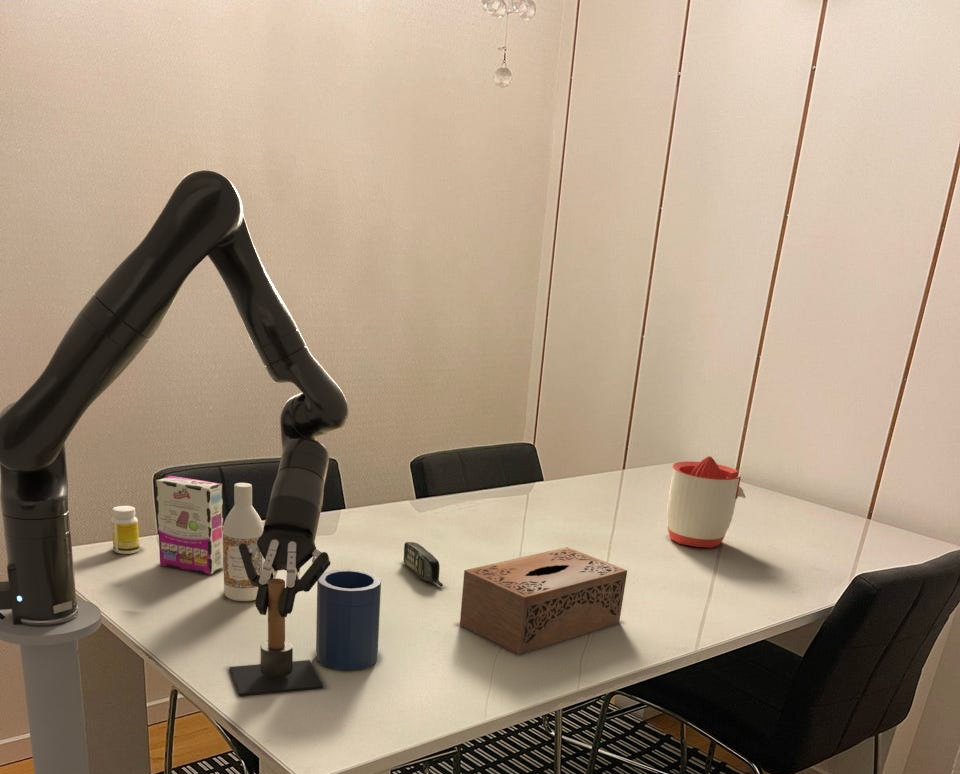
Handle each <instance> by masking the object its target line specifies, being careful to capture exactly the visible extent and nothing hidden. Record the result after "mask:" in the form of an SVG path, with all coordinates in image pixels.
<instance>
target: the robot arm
mask: <svg viewBox="0 0 960 774" xmlns="http://www.w3.org/2000/svg"><path fill="white" fill-rule="evenodd" d="M135 247H136V246H135ZM205 258H209V260H210V261H211V262H212V264H213V265H214V267H215V269H216V271H217V273H218V274H219V275H220V277H221V279H222V281H223V282H224V285H225V287H226V289H227V290H228V292H229V294H230V296H231V298H232V300H233V304H234V306H235V308H236V310H237V312H238V314H239V317H240V319H241V322H242V324H243V326H244V328H245V331H246V333H247V334H248V337H249V340H250V341H251V343H252V345H253V347H254V349H255V350H256V353H257V355H258V357H259V358H260V360H261V362H262V364H263V366H264V368H265V369H266V371H267V373H268V374H269V376H270V378H271V379H272V380H273V381H274V382H276V383H279V384H280V383H291V384H294V386H296V387H297V389H298V390H299V391H300V393H298V394H295V395H293V396H291V397H290V398H289V399H287V401H286V402H285V404H284V405H283V406H282V409H281V411H280V416H279V417H280V418H279V420H280V421H279V422H280V423H279V424H280V425H279V427H280V440H281V441H280V442H281V449H282V451H281V452H282V453H281V457H280V461H279V464H278V465H279V466H278V470H277V474H276V478H275V480H274V483H273V485H272V488H271V493H270V499H269V502H268V506H267V510H266V515H265V520H264V523H263V527H264V529H263V533H262V535H261V536H260V537H259V538H258V540H257V543H254V544H251V545H248V546H247V545H246V544H244V543H242V544H240V545H239V551H240V554H241V557H242V560H243V564H244V567H245V570H246V573H247V577H248V579H249V581H250V582H251V584H252V585H253V586H257V587H258V592H257V597H256V600H254V605H255V608H256V610H257V611H258V613H259V615H261V616H266V615H267V614H268V580H270V579H275V578H277V575H278V572H279V571H285V572H286V580H285V588H284V589H283V594H282V599H281V604H280V608H279V613H280V615H281V617H285V618H287V617H288V615H291V613H293V609H294V606H295V605H294V604H295V599H296V595H297V594H298V593H300V592H305V593H308V592H310V591H311V589H312V588H313V587H314V586H315V584H316V583H317V581H318V579H319V578H320V577H321V576H322V574H323V573H325V572H326V571H327V569H328V568H329V567H330V566H331V558H330V556H329V554H328V552H326V551H322V552H321V551H320V550H318V549H317V546H316V542H315V541H316V538H317V532H318V527H319V521H320V516H321V513H322V510H323V502H324V493H325V492H324V490H325V485H326V479H327V474H328V469H329V463H330V462H329V461H330V455H329V451H328V449H327V448H326V446H325V445H324V444H323V443H321V442H319V441H318V440H317V438H319V437H322V436H324V435H327V434H330V433H333V432H336V431H338V430H340V429H342V428H343V427H344V426H345V425H346V424H347V423H348V419H349V405H348V401H347V398H346V396H345V393H344V392H343V390H342V389H341V388H340V387H339V385H338V384H337V383H336V382H335V380H334V379H333V378H332V377H331V376H330V374H328V372H327V371H326V370H325V369H324V367H323V366H322V365H321V364H320V363H319V361H318V360H317V359H316V358H315V357H314V356H313V355H312V353H311V352H310V350H309V347H308V346H307V343H306V342H305V339H304V338H303V336H302V333H301V332H300V330H299V328H298V325H297V324H296V321H295V320H294V319H293V316H292V314H291V313H290V311H289V309H288V307H287V305H286V304H285V302H284V301H283V299H282V297H281V295H280V294H279V292H278V290H277V289H276V287H275V285H274V284H273V282H272V281H271V278H270V276H269V275H268V273H267V271H266V269H265V267H264V265H263V263H262V261H261V259H260V257H259V255H258V252H257V250H256V247H255V244H254V243H253V239H252V236H251V233H250V230H249V228H248V225H247V221H246V219H245V215H244V206H243V201H242V199H241V196H240V194H239V192H238V189H236V187H235V185H234V184H233V183H232V181H231V180H230V179H229V178H228V177H226V176H225V175H223V174H222V173H220V172H218V171H215V170H210V169H200V170H195V171H192V172H189V173H188V174H187V175H185V176H184V177H183V178H182V179H181V180H180V181H179V182H178V183H177V185H176V187H175V188H174V189H173V192H172V193H171V195H170V197H169V199H168V201H167V202H166V204H165V206H164V207H163V209H162V211H161V212H160V214H159V216H158V217H157V218H156V220H155V222H154V223H153V225H152V226H151V228H150V229H149V231H148V232H147V234H146V235H145V237H144V238H143V239H142V240H141V242H140V243H139V244H138V245H137V247H136V248H134V249H133V250H132V251H131V252H130V253H129V254H128V256H126V258H125V259H124V260H123V261H121V263H120V264H119V265H118V266H117V267H116V268H114V270H113V271H112V272H111V274H110V275H108V277H107V278H106V279H105V281H104V282H103V283H102V284H101V285H100V286H99V287H98V288H97V290H96V291H95V292H94V293H93V295H92V296H91V297H90V299H89V300H88V301H87V302H86V303H85V305H84V306H83V307H82V309H81V310H80V312H79V313H78V314H77V315H76V317H75V318H74V320H73V321H72V323H71V324H70V326H69V327H68V329H67V330H66V332H65V334H64V335H63V336H62V338H61V340H60V342H59V344H58V345H57V347H56V349H55V351H54V353H53V355H52V357H51V358H50V360H49V362H48V364H47V365H46V366H45V369H44V370H43V371H42V373H41V374H40V376H39V377H38V378H37V379H36V380H35V382H34V383H33V384H32V385H31V386H30V387H29V388H28V389H27V390H26V391H25V392H24V393H23V394H22V396H21V397H20V398H19V399H18V400H16V401H14V402H11V403H10V404H7V406H5V407H4V408H2V410H1V412H0V508H1V509H0V510H1V516H2V525H3V533H4V534H3V535H4V543H5V551H6V560H7V563H6V564H7V565H6V571H7V573H6V574H7V581H0V610H7V609H12V616H13V624H14V625H26V626H33V627H48V626H56V625H61V624H64V623H67V622H70V621H72V620H74V619H75V618H76V617H77V616H78V606H77V600H76V599H77V591H76V589H77V588H76V579H75V569H74V567H75V566H74V555H73V547H72V534H71V522H70V511H69V483H68V482H69V481H68V470H67V469H68V468H67V467H68V466H67V454H66V441H67V439H68V438H69V436H70V435H71V433H72V431H73V430H74V428H75V427H76V426H77V424H78V422H79V421H80V419H81V418H82V416H83V415H84V414H85V412H86V411H87V410H88V409H89V408H90V406H91V405H92V404H93V403H94V402H95V401H96V400H97V399H98V398H99V397H100V396H101V395H102V394H103V393H104V392H105V391H106V390H107V389H108V388H109V387H110V386H111V385H112V384H113V383H114V382H115V381H116V380H117V379H118V377H120V376H121V374H122V373H123V372H124V371H125V370H126V369H127V368H128V367H129V365H130V364H131V363H132V362H133V361H134V360H135V359H136V357H137V356H138V355H139V354H140V352H142V350H143V348H144V347H145V346H146V345H147V343H149V341H150V340H151V339H152V338H153V336H154V335H155V333H156V332H157V330H159V328H160V326H161V324H162V323H163V321H164V319H165V318H166V317H167V315H168V313H169V311H170V309H171V308H172V306H173V304H174V302H175V300H176V298H177V296H178V295H179V293H180V291H181V288H182V287H183V285H184V284H185V282H186V281H187V280H188V278H189V277H190V275H191V274H192V273H193V272H194V270H195V269H196V268H197V267H198V266H199V265H200V264H201V263H202V262H203V261H204V259H205ZM258 551H260V552H261V554H262V556H263V557H264V564H263V570H262V573H261V576H259V575H257V572H256V569H255V566H254V563H253V560H255V559H256V557H257V552H258ZM310 560H311V563H312V564H310V566H309V567H308V569H307V570H306V571H305V572H304V574H303V575H302V576H300V574H301V573H300V572H301V568H302V567H303V566H304V565H305V564H307V562H309V561H310ZM4 618H5V616H4V615H3V614H2V613H0V619H1V620H3V619H4Z"/></svg>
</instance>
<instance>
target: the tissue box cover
mask: <svg viewBox="0 0 960 774" xmlns="http://www.w3.org/2000/svg"><path fill="white" fill-rule="evenodd" d="M627 575H628V569H624V568H622V567H619V566H617V565H615V564H612V563H609V562H607V561H604V560H602V559H599V558H597V557H594V556H592V555H588V554H586V553H583V552H581V551H578V550H576V549H573V548H570V547H568V546H567V547H562V548H557V549H553V550H548V551H543V552H539V553H535V554H530V555H527V556H522V557H518V558H512V559H509V560H504V561H500V562H495V563H490V564H486V565H482V566H478V567H472V568H469V569H464V571H463V581H462V593H461V606H460V617H459V626H461V627H463V628H465V629H467V630H469V631H471V632H473V633H475V634H477V635H478V636H481V637H482V638H485V639H486V640H489V641H491V642H493V643H495V644H497V645H498V646H501V647H503V648H505V649H507V650H509V651H511V652H512V653H514V654H517V655H521V654H525V653H528V652H532V651H535V650H537V649H540V648H544V647H547V646H550V645H554V644H557V643H560V642H563V641H566V640H570V639H572V638H575V637H578V636H579V637H580V636H582V635H585V634H588V633H592V632H594V631H597V630H598V631H599V630H601V629H605V628H608V627H610V626H613V625H616V624H619V623H620V621H621V614H622V608H623V602H624V594H625V589H626V583H627Z"/></svg>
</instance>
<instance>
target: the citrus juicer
mask: <svg viewBox="0 0 960 774" xmlns="http://www.w3.org/2000/svg"><path fill="white" fill-rule="evenodd" d="M740 483H741V476H739V470H737V469H735V468H732V467H730V466H726V465H722V464H719V463H718V464H717V462H716V461H715V459H714V458H713V457H712V456H706V457H705V458H703V459H702V460H701V461H677V462H675V463H673V464H672V474H671V480H670V486H669V493H668V497H667V498H668V499H667V506H666V522H667V523H666V524H667V532H668V534H669V538H670V539H671V540H672V541H674V542H676V544H678V545H686V546H690V547H695V548H696V547H697V548H706V549H713V548H714V547H717V546H719V545H720V544H721V542H723V540H724V538H725V536H726V534H727V532H728V530H729V528H730V525H731V523H732V520H733V516H734V512H735V508H736V502H737V499H738V498H742V499H746V498H747V497H746V494H745V492H744V489H743V488H742V487H741V486H740Z"/></svg>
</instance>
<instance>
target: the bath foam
mask: <svg viewBox="0 0 960 774" xmlns="http://www.w3.org/2000/svg"><path fill="white" fill-rule="evenodd" d="M252 485H253V484H251V483H248V482H236V483H234V485H233V495H234V496H233V499H234V500H233V501H234V504H233V506H232V508H231V509H230V511H229V512H228V514H227V516H226V517H225V520H224V521H223V569H222V570H223V593H224V596H225V597H227V598H228V599H230V600H232V601H237V602H252V601H256V597H257V592H258V587H257V586H253V585H252V584H251V582H250V581H249V579H248V577H247V573H246V570H245V567H244V564H243V560H242V557H241V554H240V551H239V545H240V544H242V543H244V544H246V545H247V546H248V545H251V544H254V543H257V540H258V538H259V537H260V536H261V535H262V533H263V529H264V523H263V520H262V519H261V516H260V515H259V514H258V511H256V509H255V508H254V506H253V486H252ZM264 561H265V559H264V557H263V556H262V554H261V552H260V551H258V552H257V557H256V559H255V560H253V563H254V566H255V569H256V572H257V575H259V576H261V573H262V570H263V564H264Z"/></svg>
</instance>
